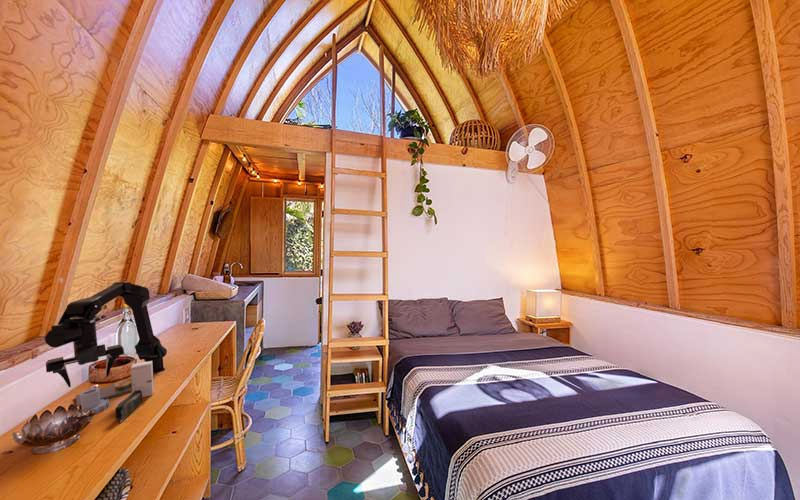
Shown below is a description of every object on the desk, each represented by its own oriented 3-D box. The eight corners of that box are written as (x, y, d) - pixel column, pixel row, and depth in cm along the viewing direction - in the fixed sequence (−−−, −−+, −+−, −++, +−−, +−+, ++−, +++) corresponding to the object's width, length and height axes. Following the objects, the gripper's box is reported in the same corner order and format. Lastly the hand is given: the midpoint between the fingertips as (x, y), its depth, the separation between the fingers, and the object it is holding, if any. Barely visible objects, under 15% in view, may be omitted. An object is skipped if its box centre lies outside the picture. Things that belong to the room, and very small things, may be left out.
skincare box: (132, 400, 114) (129, 367, 113) (134, 395, 118) (131, 364, 117) (153, 395, 117) (151, 363, 117) (154, 390, 121) (152, 359, 121)
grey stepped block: (107, 400, 115) (106, 383, 115) (111, 408, 109) (109, 390, 108) (71, 411, 108) (69, 393, 108) (73, 421, 102) (71, 401, 102)
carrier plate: (137, 380, 131) (136, 369, 131) (142, 388, 124) (142, 377, 123) (75, 398, 118) (74, 386, 118) (77, 408, 110) (76, 395, 110)
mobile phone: (133, 389, 112) (110, 409, 98) (143, 388, 113) (122, 407, 99) (134, 403, 112) (111, 425, 98) (144, 401, 113) (123, 423, 99)
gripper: (43, 350, 95) (48, 400, 96) (124, 334, 109) (128, 377, 110) (44, 343, 102) (48, 389, 103) (119, 329, 116) (123, 369, 117)
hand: (89, 381), depth 108 cm, fingers open, 9 cm apart
